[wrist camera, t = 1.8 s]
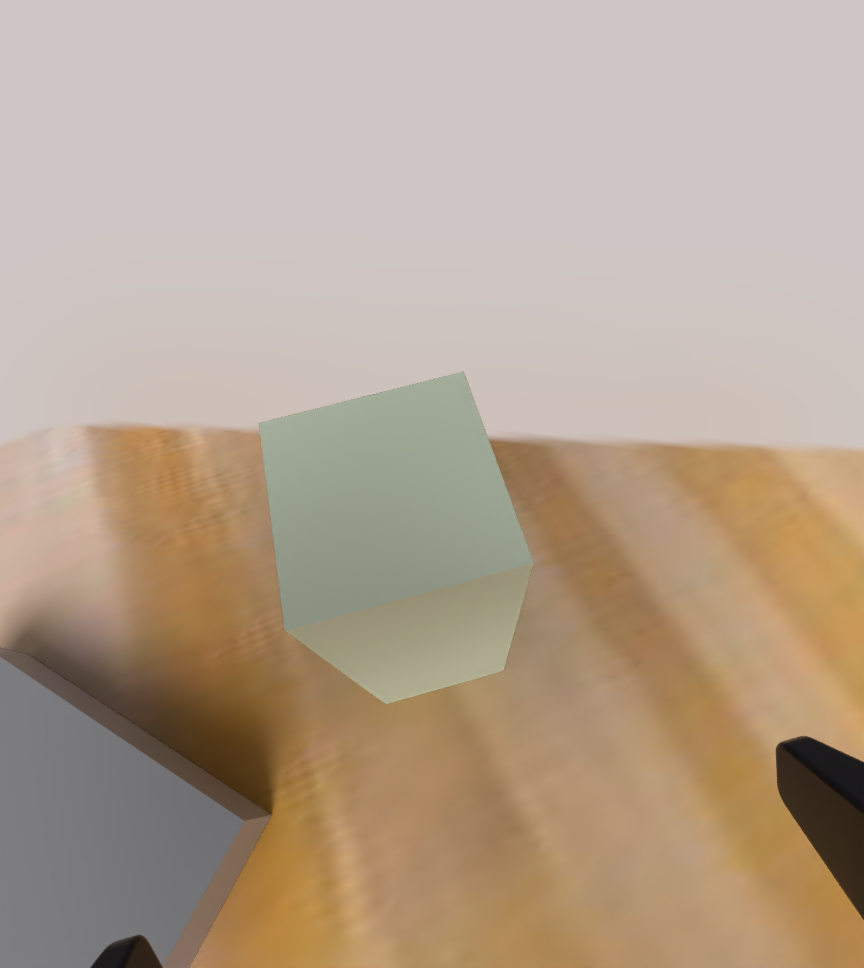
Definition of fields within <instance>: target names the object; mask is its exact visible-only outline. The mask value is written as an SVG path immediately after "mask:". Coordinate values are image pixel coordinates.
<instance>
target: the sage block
mask: <svg viewBox="0 0 864 968" xmlns="http://www.w3.org/2000/svg"><path fill="white" fill-rule="evenodd" d="M259 430H260V438H261V446H262V454H263V462H264V470H265V478H266V486H267V494H268V502H269V510H270V518H271V526H272V534H273V542H274V550H275V558H276V566H277V574H278V582H279V590H280V598H281V606H282V614H283V622H284V630H285V631H286V632H287V633H288V634H290V635H291V636H292V637H294V638H295V639H297V640H298V641H299V642H301V643H302V644H303V645H305V646H306V647H308V648H309V649H310V650H312V651H313V652H315V653H316V654H317V655H319V656H320V657H321V658H323V659H324V660H326V661H327V662H328V663H330V664H331V665H332V666H334V667H335V668H337V669H338V670H339V671H341V672H342V673H343V674H345V675H346V676H348V677H349V678H350V679H352V680H353V681H354V682H356V683H357V684H359V685H360V686H361V687H363V688H364V689H366V690H367V691H368V692H370V693H371V694H372V695H374V696H375V697H377V698H378V699H379V700H381V701H382V702H383V703H385V704H389V703H393V702H396V701H400V700H403V699H407V698H410V697H414V696H417V695H421V694H424V693H428V692H431V691H435V690H438V689H442V688H446V687H449V686H453V685H456V684H460V683H463V682H467V681H470V680H474V679H477V678H481V677H484V676H488V675H492V674H495V673H499V672H502V671H504V667H505V664H506V660H507V656H508V653H509V649H510V646H511V642H512V639H513V635H514V632H515V628H516V625H517V621H518V617H519V614H520V610H521V607H522V603H523V600H524V596H525V593H526V589H527V585H528V582H529V578H530V575H531V571H532V568H533V564H534V562H533V559H532V557H531V554H530V551H529V548H528V546H527V543H526V540H525V537H524V535H523V532H522V529H521V527H520V524H519V521H518V518H517V516H516V513H515V510H514V507H513V505H512V502H511V499H510V496H509V494H508V491H507V488H506V486H505V483H504V480H503V477H502V475H501V472H500V469H499V466H498V464H497V461H496V458H495V455H494V453H493V450H492V447H491V445H490V442H489V439H488V436H487V434H486V431H485V428H484V426H483V423H482V420H481V417H480V414H479V412H478V409H477V406H476V404H475V401H474V398H473V395H472V393H471V390H470V387H469V384H468V382H467V379H466V376H465V374H464V372H461V373H457V374H453V375H449V376H445V377H441V378H437V379H433V380H429V381H425V382H421V383H417V384H413V385H409V386H405V387H401V388H397V389H393V390H389V391H385V392H381V393H377V394H373V395H369V396H365V397H361V398H357V399H353V400H349V401H345V402H341V403H337V404H333V405H329V406H325V407H321V408H317V409H313V410H309V411H305V412H301V413H297V414H293V415H289V416H285V417H281V418H277V419H273V420H269V421H265V422H261V423H259Z"/></svg>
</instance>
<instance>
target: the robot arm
mask: <svg viewBox="0 0 864 968" xmlns="http://www.w3.org/2000/svg"><path fill="white" fill-rule="evenodd" d="M776 768H777V786H778V790H779V794H780V796H781V798H782V800H783V802H784V804H785V806H786V807H787V809H788V810H789V812H790V813H791V814H792V816H793V817H794V819H795V820H796V822H797V823H798V825H799V826H800V828H801V829H802V831H803V832H804V834H805V835H806V836H807V838H808V839H809V841H810V842H811V844H812V845H813V847H814V848H815V850H816V851H817V853H818V854H819V856H820V857H821V859H822V860H823V861H824V863H825V864H826V866H827V867H828V869H829V870H830V872H831V873H832V875H833V876H834V878H835V879H836V881H837V882H838V883H839V885H840V886H841V888H842V889H843V891H844V892H845V894H846V895H847V897H848V898H849V900H850V901H851V903H852V904H853V905H854V907H855V908H856V910H857V911H858V912H859V914H860V915H861V917H862V918H863V919H864V762H863V761H860V760H858V759H856V758H854V757H852V756H850V755H847V754H845V753H843V752H841V751H839V750H837V749H835V748H832V747H830V746H828V745H826V744H824V743H822V742H819V741H817V740H815V739H813V738H810V737H806V736H800V737H796V738H793V739H789V740H786V741H783V742H780V743H779V744H778V745H777V747H776ZM90 968H163V966H162V964H161V963H160V961H159V959H158V957H157V956H156V954H155V952H154V950H153V948H152V947H151V945H150V943H149V941H148V940H147V938H146V937H144V936H142V935H135V936H132V937H128V938H125V939H122V940H118V941H115V942H113V943H111V944H110V945H109V946H107V947H106V948H105V949H104V950H103V952H102V953H101V954H100V955H99V957H98V958H97V959H96V960H95V962H94V963H93V964H92V966H91V967H90Z"/></svg>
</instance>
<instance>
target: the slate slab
mask: <svg viewBox="0 0 864 968" xmlns="http://www.w3.org/2000/svg"><path fill="white" fill-rule="evenodd" d="M271 816H272V815H271V814H270V813H268V812H267V811H265V810H264V809H262V808H261V807H259V806H258V805H256V804H255V803H253V802H252V801H250V800H249V799H247V798H246V797H244V796H243V795H241V794H239V793H238V792H236V791H235V790H233V789H232V788H230V787H229V786H227V785H226V784H224V783H223V782H221V781H220V780H218V779H217V778H215V777H214V776H212V775H211V774H209V773H207V772H206V771H204V770H203V769H201V768H200V767H198V766H197V765H195V764H194V763H192V762H191V761H189V760H188V759H186V758H185V757H183V756H182V755H180V754H179V753H177V752H176V751H174V750H172V749H171V748H169V747H168V746H166V745H165V744H163V743H162V742H160V741H159V740H157V739H156V738H154V737H153V736H151V735H150V734H148V733H147V732H145V731H144V730H142V729H141V728H139V727H137V726H136V725H134V724H133V723H131V722H130V721H128V720H127V719H125V718H124V717H122V716H121V715H119V714H118V713H116V712H115V711H113V710H112V709H110V708H109V707H107V706H106V705H104V704H102V703H101V702H99V701H98V700H96V699H95V698H93V697H92V696H90V695H89V694H87V693H86V692H84V691H83V690H81V689H80V688H78V687H77V686H75V685H74V684H72V683H71V682H69V681H67V680H66V679H64V678H63V677H61V676H60V675H58V674H57V673H55V672H54V671H52V670H51V669H49V668H48V667H46V666H45V665H43V664H42V663H40V662H39V661H37V660H35V659H34V658H32V657H31V656H29V655H27V654H23V653H19V652H15V651H11V650H7V649H3V648H0V968H90V967H91V966H92V964H93V963H94V962H95V960H96V959H97V958H98V957H99V955H100V954H101V953H102V952H103V950H104V949H105V948H106V947H107V946H109V945H110V944H111V943H113V942H115V941H118V940H122V939H125V938H128V937H132V936H135V935H142V936H144V937H146V938H147V940H148V941H149V943H150V945H151V947H152V948H153V950H154V952H155V954H156V956H157V957H158V959H159V961H160V963H161V964H162V966H163V968H189V967H190V965H191V963H192V961H193V959H194V957H195V956H196V954H197V952H198V950H199V948H200V946H201V945H202V943H203V941H204V939H205V937H206V935H207V933H208V932H209V930H210V928H211V926H212V924H213V922H214V921H215V919H216V917H217V915H218V913H219V911H220V910H221V908H222V906H223V904H224V902H225V900H226V899H227V897H228V895H229V893H230V891H231V889H232V887H233V886H234V884H235V882H236V880H237V878H238V876H239V875H240V873H241V871H242V869H243V867H244V865H245V864H246V862H247V860H248V858H249V856H250V854H251V852H252V851H253V849H254V847H255V845H256V843H257V841H258V840H259V838H260V836H261V834H262V832H263V830H264V829H265V827H266V825H267V823H268V821H269V819H270V818H271Z"/></svg>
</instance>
